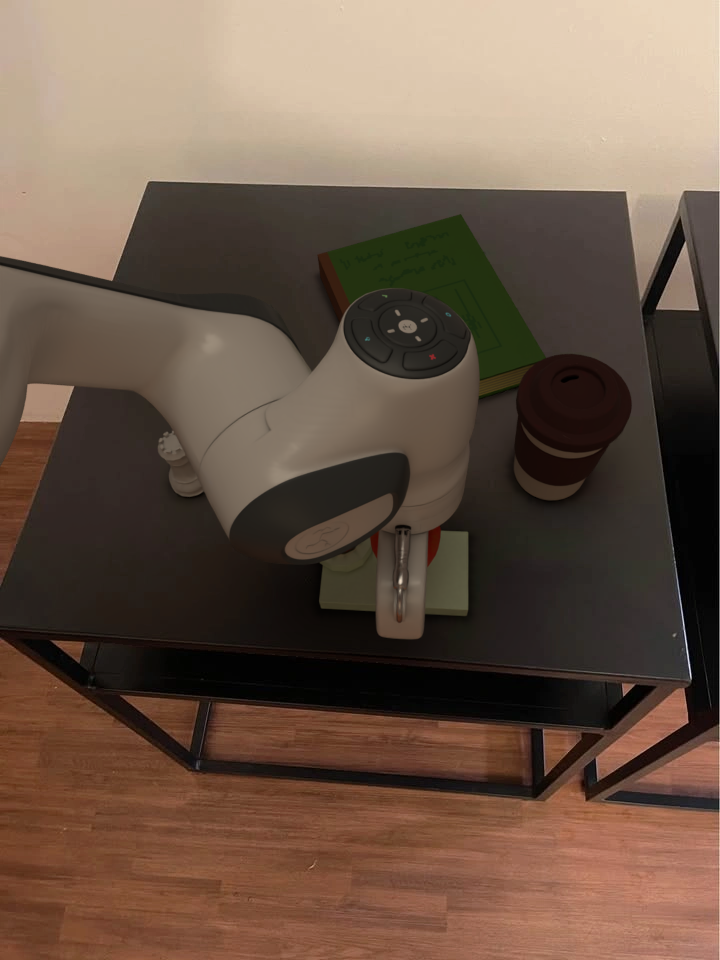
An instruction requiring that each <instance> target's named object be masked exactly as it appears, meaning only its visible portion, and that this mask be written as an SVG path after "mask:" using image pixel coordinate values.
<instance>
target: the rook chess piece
mask: <svg viewBox="0 0 720 960" xmlns="http://www.w3.org/2000/svg"><path fill="white" fill-rule="evenodd" d="M162 435H163V437H160V438H159V439H158V445H157V452H158V455H159V456H160V457H161V458H162V459H164V460H165V462H166V463H167V464H168V465H169V466H170V469H169V472H168V480H169V484H170V486H171V488H172V490H173V491H174V492H175V494H178V495H179V496H181V497H187V498H188V497H189V498H190V497H195V496H198V495H200V494H202V493H204V491H203V490H202V486H201V484H200V482H199V480H198V478H197V476H196V474H195V472H194V470H193V468H192V466H191V464H190V462H189V460H188V458H187V456H186V454H185V452H184V451H183V449H182V447H181V445H180V443H179V441H178V439H177V437H176V435H175V433H174V431H173V429H171V433H169V432H168V431H165V432H164V433H163V434H162Z"/></svg>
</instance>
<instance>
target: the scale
mask: <svg viewBox="0 0 720 960" xmlns="http://www.w3.org/2000/svg"><path fill="white" fill-rule="evenodd" d="M319 564H320V565H322V570H321V579H320V589H319V598H318V602H319V603H318V604H319V606H320V609H326V610H344V611H345V610H346V611H365V612H376V610H375V585H376V567H377V558H376V556H375V554H374V553H373V551H372V547H371V541H370V538H368V539H367V540H365V541H364V542H362V543H361V544H359V545H357V546H355V547H354V548H352V549H351V550H350V551H348V552H344V553H342V554H340V555H337V556H335V557H333V558H330V559H328V560H325V561H322V562H319ZM468 612H469V532H468V531H460V530H459V531H456V530H441V538H440V543H439V548H438V551H437V553H436V556H435V557H434V559H433V560H432V562H431V563H430V565H429V566H428V567H427V588H426V607H425V615H438V616H439V615H440V616H458V617H459V616H460V617H467V616H468Z"/></svg>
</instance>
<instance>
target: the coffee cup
mask: <svg viewBox="0 0 720 960" xmlns="http://www.w3.org/2000/svg"><path fill="white" fill-rule="evenodd" d="M517 388H518V389H517V393H516V398H515V409H516V413H517V420H516V426H515V427H516V428H515V435H514V436H515V437H514V445H513V449H514V461H513V473H514V476H515V478H516V481H517V482H518V484H519V485H520V487H521V488H522V489H523V490H524V491H525V492H527V493H528V494H530V495H531V496H533V497H536V498H537V499H540V500H544V501H559V500H564V499H566V498H568V497H571V496H572V495H574V494H575V493H577V491H578V490H580V488H581V487H582V485H583V484H584V482H585V480H586V479H587V477H589V476H590V475H591V474H592V473H593V471H594V470H595V468H596V467H597V465H598V463H599V462H600V460H601V459H602V458H603V456H604V454H605V453H606V451H607V449H608V448H609V447H610V445H611V443H613V442H614V441H616V440H617V439H618V438H619V437H620V435H621V434H622V433H623V431H624V430H625V428H626V426H627V424H628V421H629V419H630V417H631V415H632V414H631V413H632V408H633V401H632V395H631V392H630V389H629V387H628V384H627V383H626V381H625V380H624V379H623V377H622V376H621V375H620V374H619V373H618V371H616V370H615V369H614V368H612V366H610V365H608V364H607V363H605V362H603V361H602V360H599V359H597V358H595V357H592V356H588V355H583V354H576V353H560V354H554V355H550V356H548V357H546V358H545V359H543V360H541V361H539V362H537V363H536V364H534V365H533V366H532V367H531V368H530V369H528V371H527V372H526V373H525V374H524V376H523V377H522V379H521V382H520V384H519V387H517Z"/></svg>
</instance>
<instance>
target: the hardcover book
mask: <svg viewBox="0 0 720 960" xmlns="http://www.w3.org/2000/svg"><path fill="white" fill-rule="evenodd" d="M317 262H318V263H317V264H318V269H319V276H320V280H321V282H322V284H323V286H324V290H325V291H326V294H327V297H328V299H329V300H330V303H331V305H332V308H333V310H334V313H335V315H336V317H337V319H338V322H339V323H340V322H341V320H342V317H343V315H344V313H345V312H346V310H347V309H348V307H349V306H350V305H351V304H352V303H353V302H354V301H356V300H357V299H358V298H360V297H361V296H363V295H365V294H368V293H370V292H373V291H376V290H381V289H389V288H402V289H410V290H415V291H419V292H422V293H425V294H428V295H430V296H433V297H435V298H437V299H439V300H440V301H442V302H443V303H445V304H446V305H448V306H449V307H450V308H451V309H452V310H454V311H455V312H456V313H457V314H458V315H459V316H460V317H461V319H462V320H463V321H464V322H465V324H466V325H467V326H468V328H469V330H470V331H471V333H472V336H473V338H474V342H475V345H476V349H477V355H478V361H479V376H480V383H479V399H478V400H481V399H483V398H487V397H490V396H493V395H497V394H500V393H502V392H507V391H509V390H513V389H516V388H519V384H520V382H521V379H522V377H523V376H524V374H525V373H526V372H527V371H528V369H530V368H531V367H532V366H533V365H534V364H536V363H537V362H539V361H541V360H543V359H545V358H547V356H546V355H545V353H544V352H543V349H542V348H541V346H540V345H539V343H538V341H537V340H536V338H535V336H534V334H533V333H532V331H531V329H530V327H528V325H527V322H526V321H525V319H524V318H523V316H522V314H521V313H520V311H519V308H517V306H516V303H515V302H514V301H513V299H512V298H511V296H510V294H509V292H508V290H507V288H506V287H505V286H504V284H503V283H502V281H501V278H499V275H498V274H497V272H496V271H495V269H494V267H493V265H492V264H491V262H490V260H489V259H488V257H487V255H486V253H485V252H484V251H483V249H482V247H481V245H480V244H479V242H478V240H477V239H476V236H475V235H474V233H473V232H472V230H471V229H470V227H469V225H468V224H467V222H466V220H465V218H464V216H463V215H462V214H461V213H459V214H456V215H453V216H449V217H446V218H442V219H439V220H435V221H432V222H428V223H424V224H420V225H416V226H414V227H410V228H407V229H403V230H400V231H399V230H398V231H395V232H392V233H388V234H385V235H381V236H378V237H375V238H371V239H368V240H363V241H361V242H356V243H354V244H349V245H346V246H343V247H340V248H335V249H331V250H328V251H326V252H322V253H318V254H317Z"/></svg>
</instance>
